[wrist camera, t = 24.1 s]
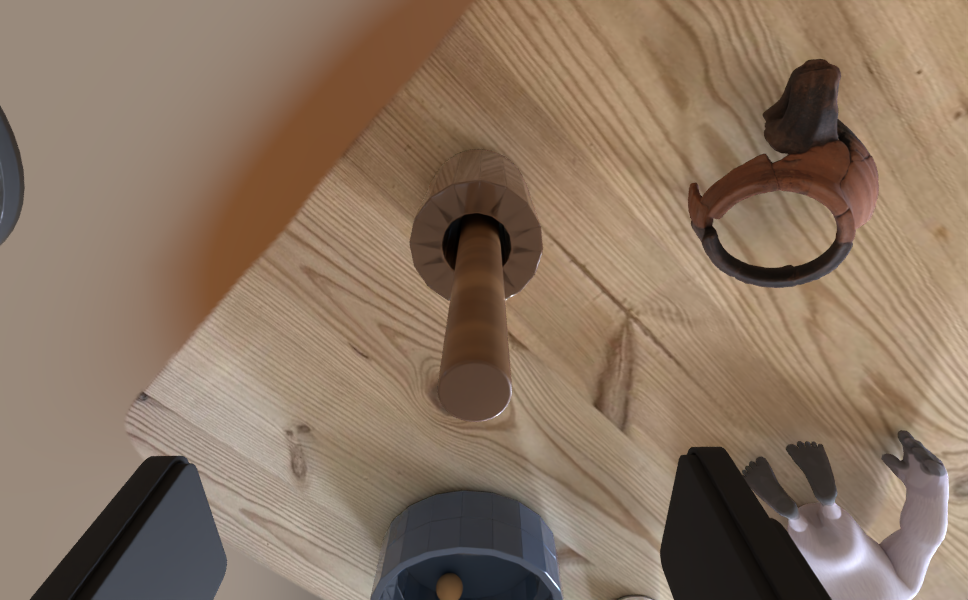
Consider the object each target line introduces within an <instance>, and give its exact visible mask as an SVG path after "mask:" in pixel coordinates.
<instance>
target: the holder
mask: <svg viewBox="0 0 968 600" xmlns="http://www.w3.org/2000/svg"><path fill="white" fill-rule="evenodd" d="M474 213H480V214H484V215H488V216H492V217H493V218H494V219H496V220H497V221H498V222H499V230H500V243H501V255H502V268H503V280H504V293H505V300H506V299H508V298H510V297H512V296H514V295H515V294H517V293H519V292H520V291H521V290H522V289H523V288H524V287H525V286H526V284H527V283H528V282H529V281H530V280H531V279H532V278H533V276H534V275H535V273H536V271H537V268H538V265H539V262H540V258H541V255H542V252H543V251H542V250H543V243H542V232H541V225H540V222H539V219H538V216H537V213H536V210H535V207H534V204H533V201H532V198H531V195H530V192H529V189H528V186H527V183H526V182H525V180H524V178H523V176H522V174H521V172H520V171H519V169H518V168H517V167H516V166H515V164H514V163H512V162H511V161H510V160H509V159H508V158H506V157H505V156H503V155H501V154H499V153H497V152H494V151H490V150H485V149H472V150H467V151H463V152H461V153H458V154H456V155H454V156H453V157H451V158H450V159H448V160H447V161H446V162H445V163H444V164H443V165H442V166H441V167H440V168H439V170H438V171H437V173H436V175H435V176H434V177H433V179H432V181H431V183H430V186H429V188H428V190H427V192H426V194H425V197H424V199H423V201H422V203H421V206H420V208H419V210H418V212H417V214H416V217H415V219H414V223H413V228H412V233H411V238H410V248H411V253H412V258H413V263H414V267H415V268H416V270H417V271H418V273H419V274H420V276H421V277H422V278H423V280H424V281H425V283H426V284H427V286H428V287H430V289H432V290H433V291H435V292H436V293H438V294H439V295H441V296H442V297H444V298H445V299H447V300H450V298H451V292H452V285H453V278H454V271H455V265H456V258H457V251H458V244H459V238H460V231H461V224H462V217H463V216H464V215H467V214H474Z"/></svg>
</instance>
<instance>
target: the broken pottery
mask: <svg viewBox="0 0 968 600" xmlns="http://www.w3.org/2000/svg"><path fill="white" fill-rule="evenodd" d="M840 78H841V72H840V70H839V68H838V67H837V66H835V65H832V64H830V63H828V62H827V61H826V60H823V59H816V60H808V61H806V62H805V63H804V64H803V65H802V66H800V67H798V68H797V69H795V70H794V71H793V72H792V74H791V76H790V78H789V81H788V83H787V86H786V88H785V91H784V93H783V95H782V97H781V98H780V100H779V101H778V102H777V103H775V104H774V105H773V106H772V107H770V108H769V109H768V110H766V111H765V112H764V113H763V117H764V119H765V120H766V123H765V128H766V129H765V130H764V136H765V139H766V140H767V141H768V142H769V144H770V146H771V147H772V148H773V149H774V150H776V151H778V152H780V153H787V154H788V155H787V156H786V157H784V158H783V159H782V160H779V161H776V162H774V163H772V162H771V160H770V159H769V158H768V156H767V155H766V154H762V155H759V156H757V157H755V158H754V159H752V160H750V161H748V162H746V163H744V164H743V165H741V166H739V167H737V168H735V169H733V170H732V171H730V172H729V173H728V174H727V175H726V176H724V177H723V178H722V179H720V180H718V181H717V182H716V183H714V184H713V185H712V186H711V187H710V188H709V189H708V190H707V191H706V193H705V194H704V195H703V197H702V196H701V195H700V193H699V187H698V184H697V183H691V184H690V188H689V197H688V208H689V213H690V218H691V220H692V221H691V226H692V228H693V230H694V231H695V233H696V234H697V236H698V238H699V239H700V240H701V242H702V245H703V248H704V250H705V252H706V254H707V255H708V256H709V258H710V259H711V261H712V262H713V264H714V265H715V266H716V267H717V268H719V269H720V270H721V271H723V272H724V273H726V274H727V275H729V276H732V277H735V278H736V279H737V280H740V281H742V282H744V283H747V284H753V285H757V286H761V287H773V288H783V287H792V286H796V285H801V284H804V283H807V282H811V281H813V280H817V279H819V278H820V277H822V276H825V275H827V274H829V273H830V272H832V271H833V270H834V269H836V268H837V267H838V265H839V264H840V263H842V261H843V260H844V259H845V258H846V256H847V255H848V253H849V252H850V250H851V248H852V246H853V243H852V241H853V240H854V237H855V232H856V229H857V228H859V227H860V226H861V225H864V224H865V223H866V222H867V221H869V220H870V219H871V217H872V214H873V212H874V210H875V207H876V202H877V198H878V192H879V183H878V171H877V167H876V164H875V162H874V160H873V157H872V156H871V155H870V153H869V152H868V151H867V149H866V148H865V146H864V145H863V144H862V142H861V141H860V140H859V139H858V138H857V137H856V136H855V134H854V133H853V132H852V131H851V130H850V129H849V128H848V127H847V126H845V125H844V124H843V123H842V122H841V121H840V120H839V119H838V105H837V96H838V88H839V82H840ZM838 138H839V140H838ZM777 190H782V191H790V192H796V193H799V194H803V195H807V196H809V197H811V198H814V199H816V200H817V201H819V202H821V203H822V204H823V205H825V206H826V207H827V208H828V209H829V210H830V211H831V213H832V214H833V215H834V218H835V220H836V224H837V233H836V239H835V241H834V242H833V244H832V245H831V247H830V248H829V249H828V250H827V251H826V252H824V253H823V254H822V255H821V256H819V257H818V258H816V259H815V260H813V261H811V262H808V263H805V264H803V265H799V266H795V267H793V266H792V265H787V266H784V267H780V268H764V267H758V266H753V265H749V264H747V263H744V262H742V261H740V260H738V259H736V258H734V257H733V256H731V255H730V254H729V253H728V252H727V251H726V250H725V249H724V248H723V247H722V245H721V243H720V241H719V239H718V235H717V232H716V230H715V228H714V227H713V226H712V224H713V218H715V219H720V218H722V217H723V215H724V214H725V213H726V212H727V211H728V210H729V209H730V208H731V207H733V206H734V205H735V204H736V203H738V202H739V201H741V200H744V199H746V198H748V197H751V196H754V195H757V194H761V193H766V192H772V191H777Z"/></svg>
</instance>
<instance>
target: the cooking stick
mask: <svg viewBox="0 0 968 600" xmlns="http://www.w3.org/2000/svg"><path fill="white" fill-rule="evenodd" d="M437 393H438V398H439V400H440V403H441V404H442V406H443V407H444V409H445V410H446V411H447V412H448V413H450V414H451V415H452V416H454V417H456V418H458V419H461V420H464V421H469V422H481V421H486V420H489V419H492V418H494V417H496V416H498V415H499V414H500V413H501V412H503V411H504V410H505V408H506V407H507V406H508V404H509V402H510V400H511V397H512V380H511V368H510V355H509V343H508V330H507V318H506V305H505V293H504V280H503V268H502V255H501V243H500V230H499V222H498V221H497V220H496V219H494V218H493V217H492V216H488V215H484V214H480V213H474V214H467V215H464V216H463V217H462V224H461V231H460V238H459V244H458V251H457V258H456V265H455V271H454V278H453V285H452V292H451V298H450V305H449V312H448V319H447V325H446V332H445V339H444V346H443V352H442V359H441V366H440V373H439V379H438V386H437Z"/></svg>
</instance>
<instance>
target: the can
mask: <svg viewBox="0 0 968 600" xmlns="http://www.w3.org/2000/svg"><path fill="white" fill-rule="evenodd" d="M617 600H654V599H652V598H649V597H646V596H639V595H633V596H626V597H622V598H619V599H617Z"/></svg>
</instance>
